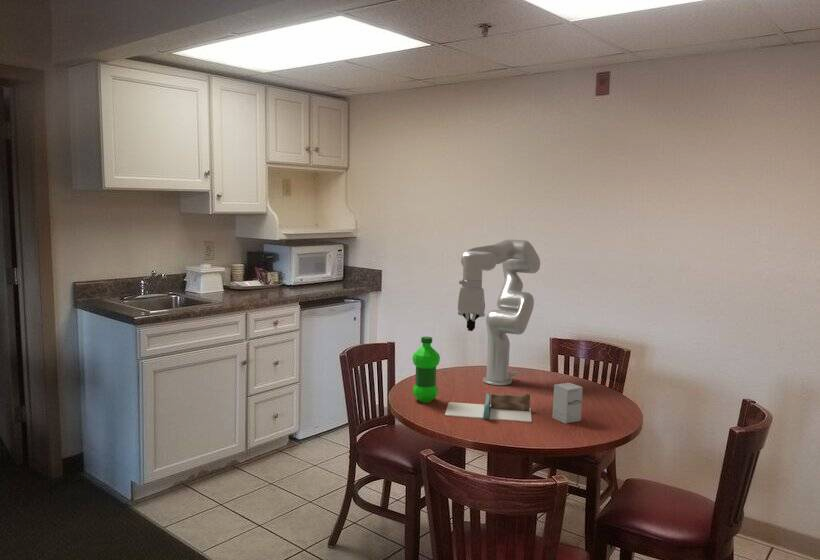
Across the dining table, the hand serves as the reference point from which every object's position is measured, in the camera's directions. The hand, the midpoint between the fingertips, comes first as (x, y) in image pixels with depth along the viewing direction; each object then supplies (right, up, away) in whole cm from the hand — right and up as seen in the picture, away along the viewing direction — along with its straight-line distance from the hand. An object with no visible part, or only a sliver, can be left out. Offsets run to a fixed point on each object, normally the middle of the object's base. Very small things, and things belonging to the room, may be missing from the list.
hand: (470, 330), depth 243 cm
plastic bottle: (-18, -27, -2) cm, 33 cm away
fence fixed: (+14, -29, -12) cm, 34 cm away
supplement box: (+32, -31, -21) cm, 50 cm away
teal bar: (+4, -29, -17) cm, 34 cm away
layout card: (+5, -29, -16) cm, 34 cm away
